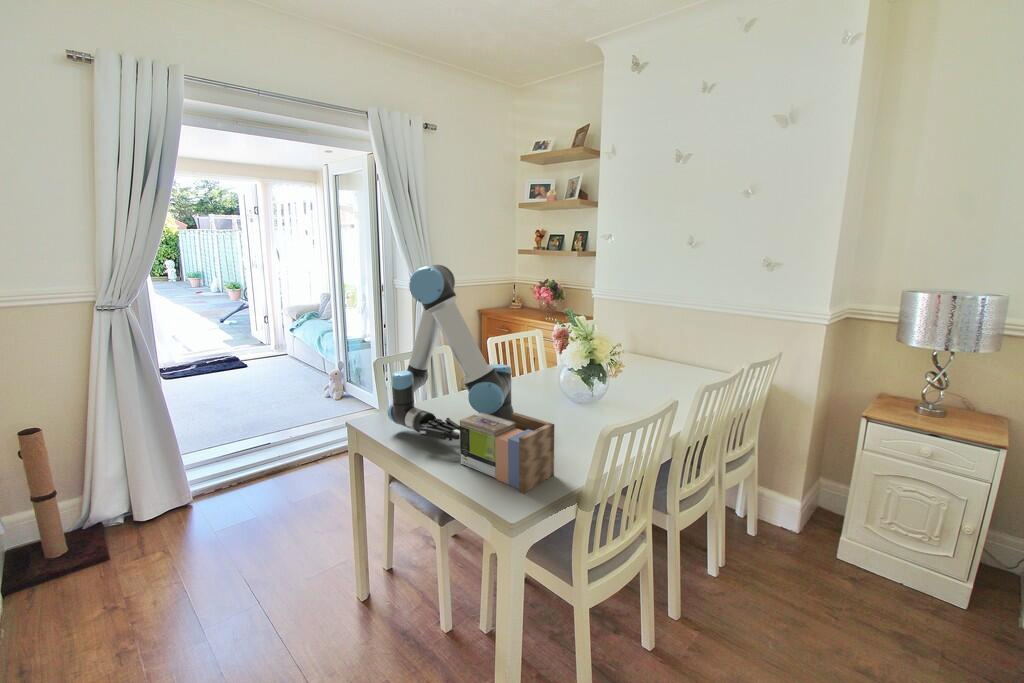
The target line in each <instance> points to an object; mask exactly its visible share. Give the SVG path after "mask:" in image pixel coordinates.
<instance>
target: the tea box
mask: <svg viewBox="0 0 1024 683" xmlns="http://www.w3.org/2000/svg"><path fill="white" fill-rule="evenodd" d="M459 426H460V441H459V442H460V443H459V446H460V451H459V452H460V464H461V465H464V466H466V467H468V468H471V469H474V470H476V471H478V472H481V473H483V474H484V475H487V476H490V477H493V478H495V479H496V451H495V437H497V436H499V435H501V434H504V433H506V432H508V431H510V430H512V429H515V428H516V422H513V421H509V420H506V419H502V418H499V417H496V416H492V415H489V414H485V413H482V412H480V413H479V412H477V413H475V414H473V415H469V416H467V417H465V418H462V419H459Z"/></svg>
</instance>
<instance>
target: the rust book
mask: <svg viewBox="0 0 1024 683" xmlns="http://www.w3.org/2000/svg"><path fill="white" fill-rule="evenodd" d="M521 432H523V430H520V429H517V428H515V429H512V430H510V431H508V432H506V433H504V434H501V435H499V436H497V437H495V451H496V478H495V480H497V481H500V482H502V483H505V484H506V483H507V485H508V439H509V438H511V437H513V436H515V435H517V434H519V433H521Z"/></svg>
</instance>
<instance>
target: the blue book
mask: <svg viewBox="0 0 1024 683" xmlns="http://www.w3.org/2000/svg"><path fill="white" fill-rule="evenodd" d="M530 432H532V430H529V429H527V430H525V431H523V432H521V433H519V434H517V435H515V436H513V437H511V438H509V439H508V484H507V485H509V486H510V485H511V487H512V488H515V487H516V488H515V489H517V488H518V489H517V490H519V437H521V436H524V435H526V434H528V433H530Z"/></svg>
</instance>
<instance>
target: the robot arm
mask: <svg viewBox="0 0 1024 683" xmlns="http://www.w3.org/2000/svg"><path fill="white" fill-rule="evenodd" d="M455 285H456V280H455V276H454V273H453V272H452V271H451V269H449V268H448V267H447V266H445V265H442V264H434V265H425V266H423V267H420V268H418V269H417V270H415V271H414V272H413V273H412V275H411V276H410V279H409V284H408V288H409V292H410V294H411V296H412V298H413V299H414V300H416V301H417V302H419V303H421V305H422V308H423V310H422V313H421V316H420V321H419V324H418V328H417V331H416V335H415V339H414V341H413V342H414V343H413V347H412V350H411V354H410V358H409V362H408V365H407V369H406V370H399V371H394V372H393V373H392V374H391V382H390V383H391V384H390V385H391V391H392V394H391V395H392V403H391V404H390V405H389V406H388V409H387V416H388V419H389V420H390V421H392V422H393V423H394V424H397V425H399V426H403V427H406V428H407V429H410V430H413V431H415V432H417V433H419V436H424V437H429V438H430V437H431V438H435V439H438V440H444V441H446V440H447V439H448V441H449V442H451V441H453V440H456V441H458V442H460V424H457V423H456V422H454V421H453V420H451V418H450V417H447V418H445V420H442V419H441V418H437V417H436V416H435V414H434V413H432V412H430V411H426V410H424V409H420V408H418V407H415V392H416V391H418V390H419V389H420V388H421V387H422V386H424V385H425V384H426V382H427V381H428V380H429V372H428V371H429V366H430V363H431V360H432V356H433V352H434V350H435V349H434V348H435V346H436V341H437V338H438V336H439V332H440V331H441V333H442V335H443V337H444V339H445V340H446V343H447V344H448V347H449V348H450V350H451V352H452V353H453V356H454V357H455V360H456V361H457V364H458V365H459V367H460V369H461V370H462V372H463V375H464V379H463V384H464V387H465V388H466V390H467V392H468V403H469V405H470V407H471V408H472V409H473V410H474V411H476V412H477V413H480V412H482V413H485V414H489V415H492V416H496V417H499V418H502V419H506V420H509V421H512V414H513V413H515V412H514V408H513V405H512V374H513V373H512V368H511V366H510V365H507V364H500V363H499V364H495V363H494V364H493V363H491V364H490V363H489V364H488V363H487V362H486V358H484V356H483V354H482V351H481V349H480V348H479V346H478V344H477V342H476V340H475V338H474V336H473V334H472V332H471V330H470V329H469V327H468V325H467V323H466V321H465V319H464V317H463V316H462V313H461V311H460V310H459V308H458V305H457V304H456V299H457V297H458V296H457V294H456V292H455Z"/></svg>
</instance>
